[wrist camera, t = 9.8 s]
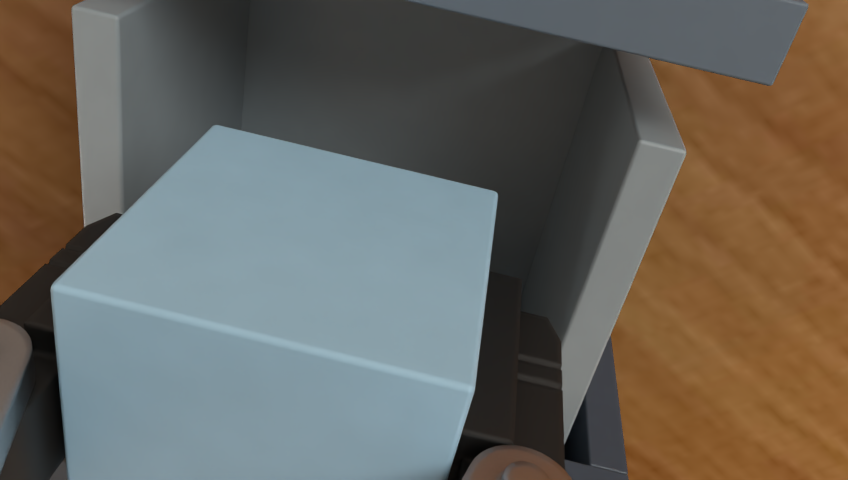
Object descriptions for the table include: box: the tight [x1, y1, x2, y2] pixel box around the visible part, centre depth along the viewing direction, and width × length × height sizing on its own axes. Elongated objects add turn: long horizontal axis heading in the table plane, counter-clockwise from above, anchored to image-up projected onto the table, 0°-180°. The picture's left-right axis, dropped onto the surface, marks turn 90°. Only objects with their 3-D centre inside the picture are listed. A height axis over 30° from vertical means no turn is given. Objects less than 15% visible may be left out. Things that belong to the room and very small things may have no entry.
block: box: [50, 125, 498, 480], centre depth 10 cm, size 4×4×4 cm
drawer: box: [72, 0, 808, 445], centre depth 16 cm, size 18×11×8 cm, turn 169°
